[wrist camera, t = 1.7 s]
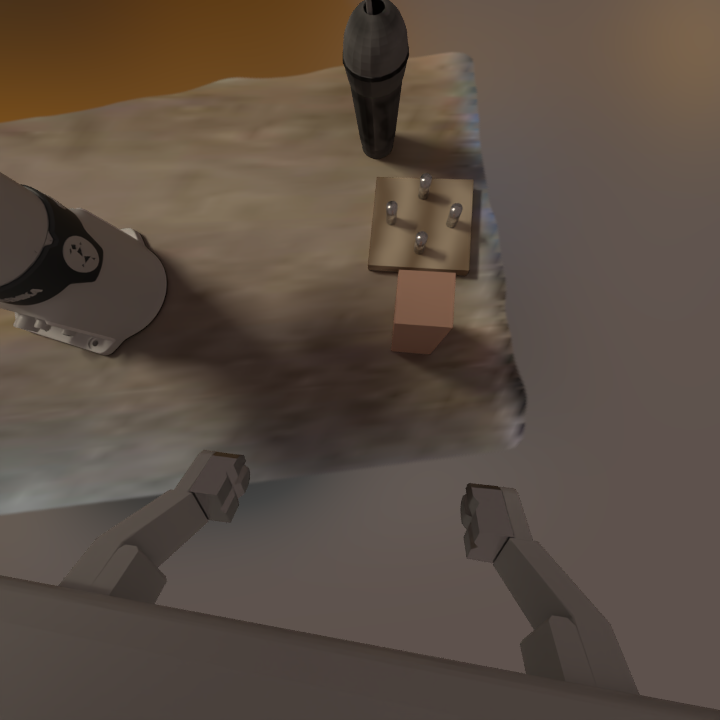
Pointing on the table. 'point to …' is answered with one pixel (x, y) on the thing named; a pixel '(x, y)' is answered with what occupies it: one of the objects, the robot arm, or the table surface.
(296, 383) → the table surface
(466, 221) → the pin plate
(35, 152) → the table surface
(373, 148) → the beverage cup
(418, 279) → the terracotta post
